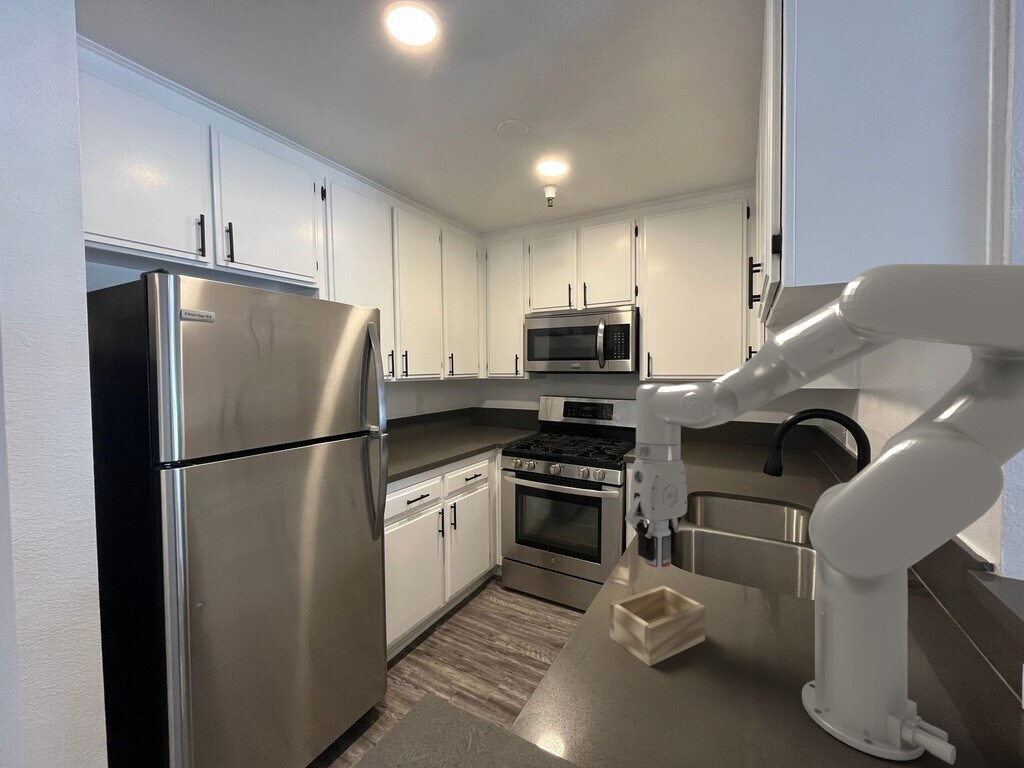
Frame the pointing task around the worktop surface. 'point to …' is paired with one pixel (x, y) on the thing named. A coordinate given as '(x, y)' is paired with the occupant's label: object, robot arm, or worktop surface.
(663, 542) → the pill bottle
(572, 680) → the worktop surface
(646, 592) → the open wooden box
